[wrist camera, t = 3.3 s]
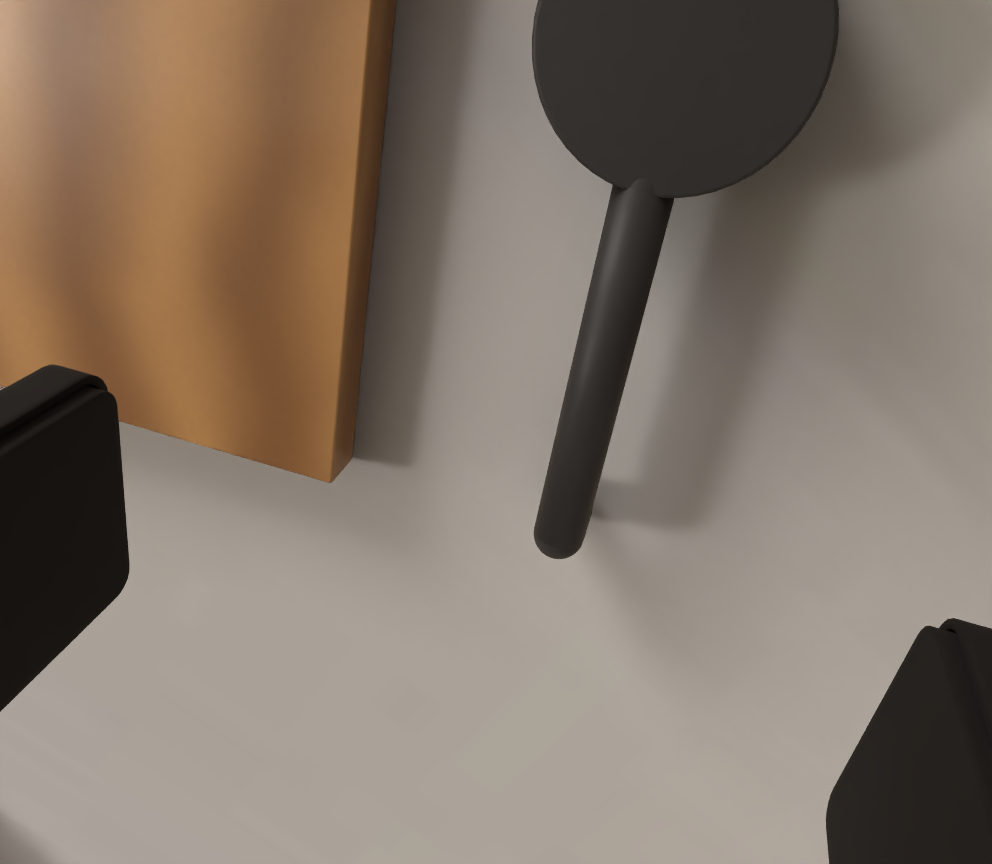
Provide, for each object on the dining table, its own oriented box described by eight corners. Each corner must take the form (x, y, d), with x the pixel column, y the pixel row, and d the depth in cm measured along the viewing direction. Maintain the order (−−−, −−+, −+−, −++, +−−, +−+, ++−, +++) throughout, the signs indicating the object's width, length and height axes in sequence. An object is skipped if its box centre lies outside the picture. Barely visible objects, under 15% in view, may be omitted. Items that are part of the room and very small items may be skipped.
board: (417, -203, 18) (391, -219, 16) (352, 459, 25) (331, 484, 24) (-161, -298, 20) (-226, -319, 18) (-57, 341, 27) (-97, 359, 26)
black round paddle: (586, -138, 17) (561, -159, 15) (869, -90, 16) (889, -104, 14) (473, 486, 25) (445, 536, 22) (665, 541, 24) (656, 599, 21)
